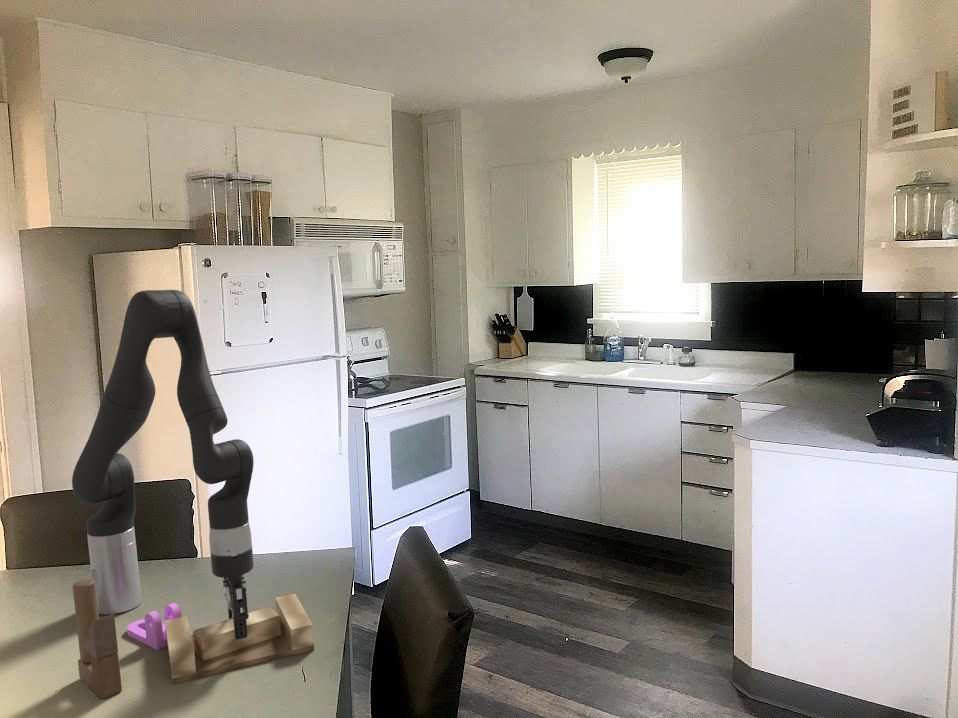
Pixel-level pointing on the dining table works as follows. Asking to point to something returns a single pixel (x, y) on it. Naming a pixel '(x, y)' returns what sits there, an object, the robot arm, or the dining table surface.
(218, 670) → the brown wooden cradle
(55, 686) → the dining table surface
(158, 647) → the bracket
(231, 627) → the oak plank
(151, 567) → the dining table surface
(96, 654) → the wooden block
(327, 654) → the dining table surface
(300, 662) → the dining table surface
